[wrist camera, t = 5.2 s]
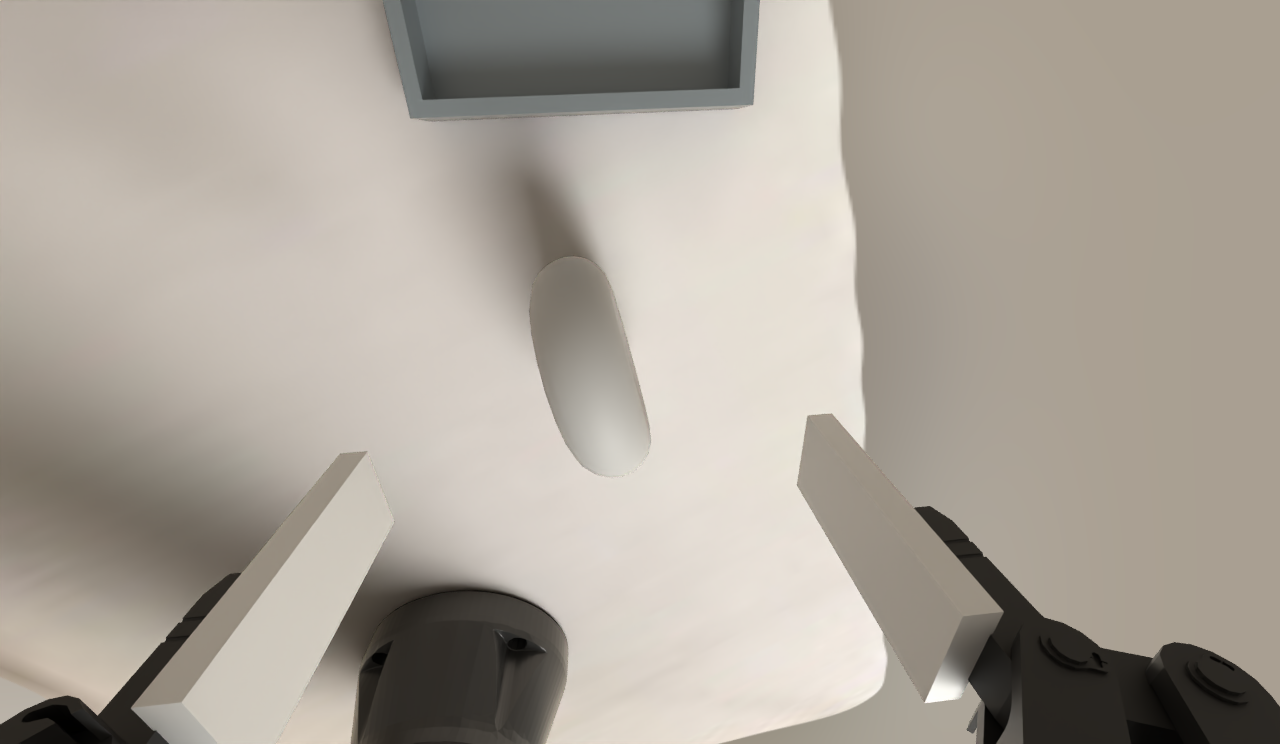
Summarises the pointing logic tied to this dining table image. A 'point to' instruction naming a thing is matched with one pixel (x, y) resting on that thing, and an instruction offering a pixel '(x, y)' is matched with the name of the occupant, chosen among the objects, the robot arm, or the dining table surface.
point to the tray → (572, 56)
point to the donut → (588, 367)
